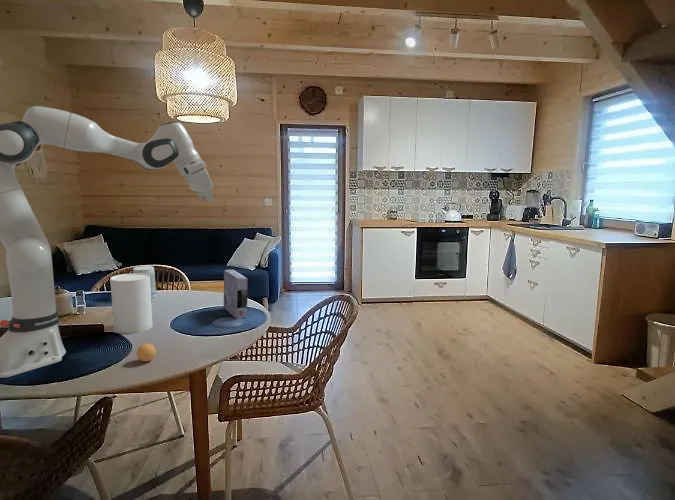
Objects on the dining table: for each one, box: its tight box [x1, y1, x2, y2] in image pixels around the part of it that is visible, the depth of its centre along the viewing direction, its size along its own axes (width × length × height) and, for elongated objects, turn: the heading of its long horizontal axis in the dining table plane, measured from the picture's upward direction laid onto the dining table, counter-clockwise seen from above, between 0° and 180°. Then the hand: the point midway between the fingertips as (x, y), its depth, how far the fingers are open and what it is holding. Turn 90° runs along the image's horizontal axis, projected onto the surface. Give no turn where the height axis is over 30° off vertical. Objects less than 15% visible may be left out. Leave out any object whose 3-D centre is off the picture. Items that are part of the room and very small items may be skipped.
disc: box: [212, 316, 246, 329], centre depth 172 cm, size 13×13×1 cm
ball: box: [136, 343, 157, 363], centre depth 134 cm, size 6×6×6 cm
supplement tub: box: [132, 265, 157, 299], centre depth 206 cm, size 10×10×15 cm
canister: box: [110, 272, 153, 335], centre depth 163 cm, size 14×14×20 cm
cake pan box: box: [223, 269, 249, 319], centre depth 184 cm, size 19×5×18 cm, turn 32°
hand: (208, 201), depth 157 cm, fingers open, 8 cm apart
